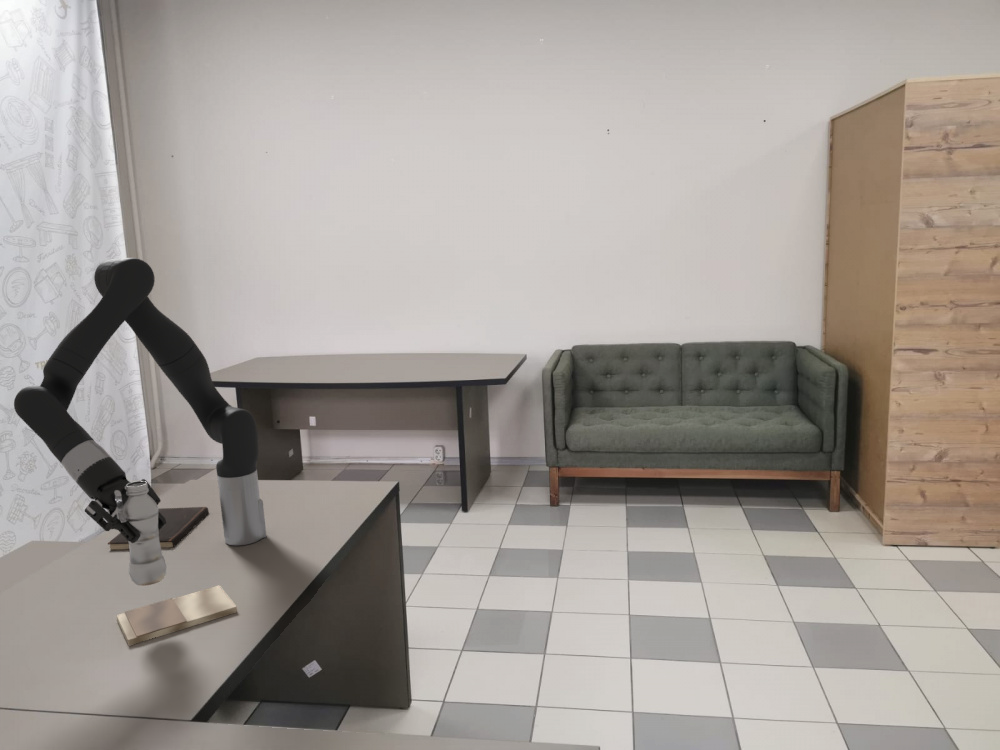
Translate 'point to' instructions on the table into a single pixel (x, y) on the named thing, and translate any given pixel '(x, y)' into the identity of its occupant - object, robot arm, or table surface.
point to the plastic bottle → (144, 536)
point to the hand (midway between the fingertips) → (150, 532)
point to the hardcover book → (170, 526)
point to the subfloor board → (175, 614)
